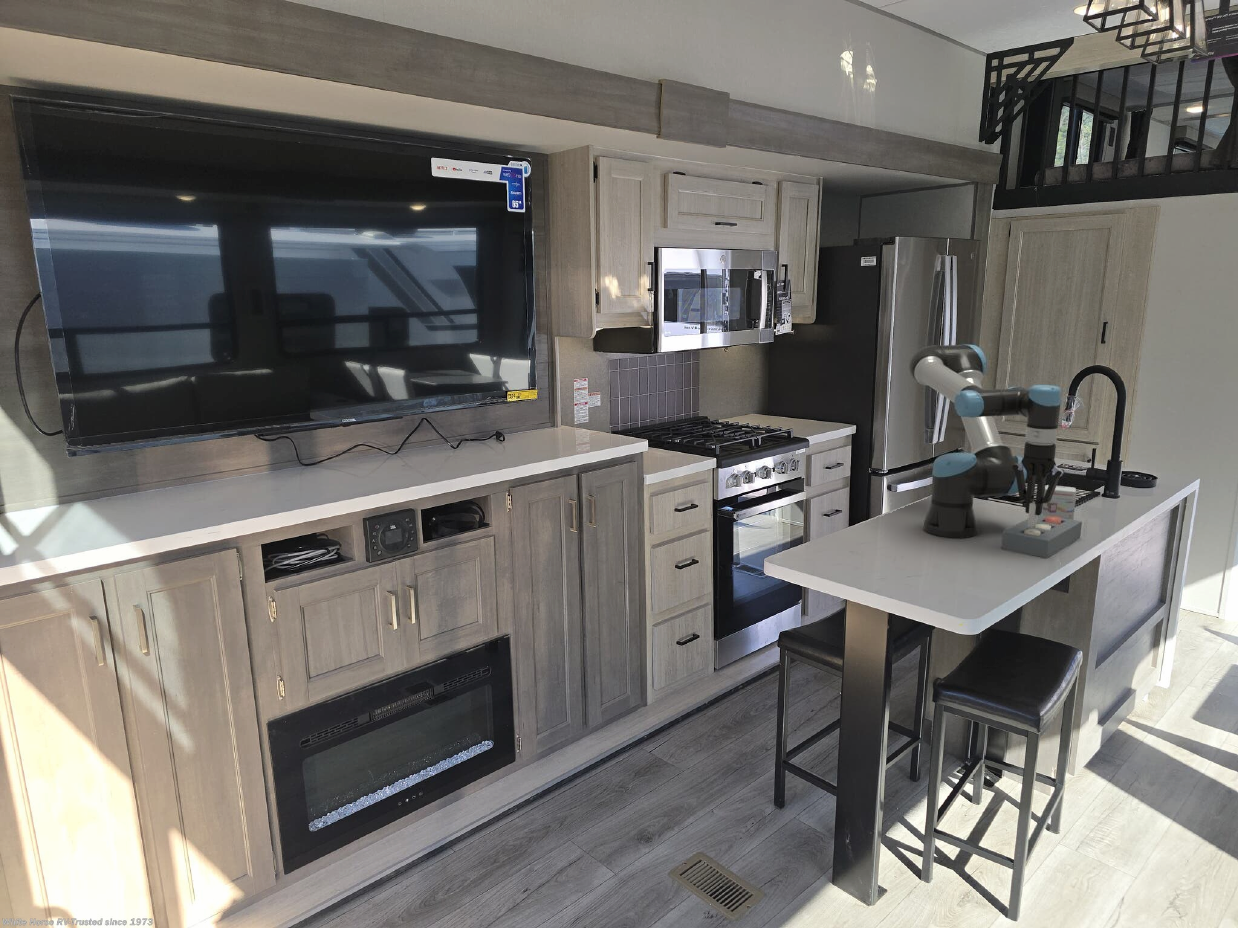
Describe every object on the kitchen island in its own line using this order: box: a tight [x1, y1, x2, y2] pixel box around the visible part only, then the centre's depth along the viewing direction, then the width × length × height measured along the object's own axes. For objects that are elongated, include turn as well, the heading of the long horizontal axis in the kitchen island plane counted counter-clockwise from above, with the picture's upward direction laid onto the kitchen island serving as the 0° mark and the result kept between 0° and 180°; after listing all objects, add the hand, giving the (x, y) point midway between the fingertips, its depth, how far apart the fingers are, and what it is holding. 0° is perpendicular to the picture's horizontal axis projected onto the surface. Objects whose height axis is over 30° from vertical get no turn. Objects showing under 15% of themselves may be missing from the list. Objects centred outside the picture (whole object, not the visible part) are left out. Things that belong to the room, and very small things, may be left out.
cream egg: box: [1035, 524, 1051, 530], centre depth 224 cm, size 4×4×5 cm
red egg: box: [1045, 516, 1061, 524], centre depth 229 cm, size 4×4×5 cm
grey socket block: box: [1001, 513, 1083, 559], centre depth 224 cm, size 25×12×5 cm, turn 132°
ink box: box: [1041, 484, 1077, 520], centre depth 240 cm, size 8×5×12 cm, turn 62°
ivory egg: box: [1024, 529, 1041, 536], centre depth 219 cm, size 4×4×5 cm
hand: (1032, 525), depth 219 cm, fingers closed
